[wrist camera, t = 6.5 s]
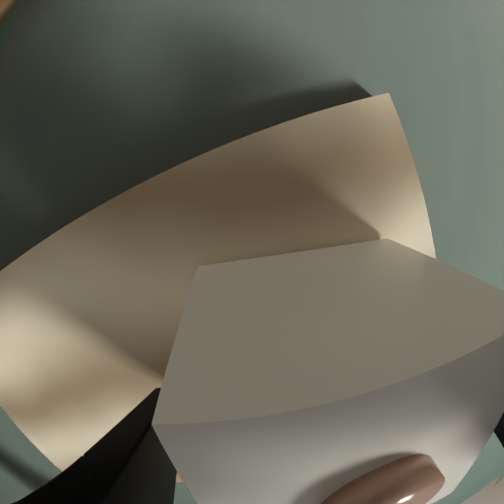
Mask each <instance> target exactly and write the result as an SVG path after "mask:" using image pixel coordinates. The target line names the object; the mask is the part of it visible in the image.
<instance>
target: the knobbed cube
mask: <svg viewBox="0 0 504 504" xmlns="http://www.w3.org/2000/svg"><path fill="white" fill-rule="evenodd" d="M503 412H504V291H503V290H501V289H499V288H497V287H495V286H493V285H491V284H488V283H486V282H484V281H482V280H480V279H478V278H476V277H474V276H472V275H470V274H468V273H466V272H463V271H461V270H459V269H457V268H455V267H452V266H450V265H448V264H446V263H444V262H441V261H439V260H437V259H435V258H432V257H430V256H428V255H425V254H423V253H421V252H419V251H416V250H414V249H411V248H409V247H407V246H404V245H402V244H399V243H397V242H395V241H392V240H390V239H381V240H374V241H367V242H361V243H354V244H347V245H341V246H334V247H327V248H320V249H314V250H307V251H300V252H293V253H286V254H280V255H273V256H266V257H259V258H252V259H245V260H238V261H231V262H224V263H217V264H210V265H203V266H198V268H197V271H196V274H195V277H194V280H193V283H192V286H191V289H190V293H189V296H188V299H187V302H186V305H185V308H184V311H183V315H182V318H181V321H180V324H179V328H178V331H177V334H176V338H175V341H174V344H173V348H172V351H171V355H170V358H169V361H168V365H167V368H166V372H165V376H164V379H163V383H162V386H161V390H160V394H159V397H158V401H157V405H156V409H155V412H154V416H153V420H152V426H153V428H154V430H155V432H156V434H157V436H158V438H159V440H160V442H161V444H162V446H163V447H164V449H165V451H166V453H167V455H168V456H169V458H170V460H171V462H172V463H173V465H174V467H175V469H176V470H177V472H178V474H179V475H180V477H181V478H182V480H183V482H184V483H185V485H186V486H187V488H188V490H189V491H190V493H191V494H192V496H193V497H194V499H195V500H196V502H197V503H198V504H432V503H434V502H436V501H438V500H439V499H441V498H443V497H445V496H447V495H448V494H450V493H452V491H453V490H454V489H455V488H456V486H457V485H458V484H459V482H460V481H461V480H462V478H463V477H464V476H465V474H466V473H467V472H468V470H469V469H470V467H471V466H472V464H473V463H474V462H475V460H476V459H477V457H478V456H479V454H480V452H481V451H482V449H483V448H484V446H485V444H486V443H487V441H488V439H489V438H490V436H491V434H492V433H493V431H494V429H495V427H496V426H497V424H498V422H499V420H500V418H501V416H502V414H503Z"/></svg>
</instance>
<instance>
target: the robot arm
mask: <svg viewBox="0 0 504 504" xmlns="http://www.w3.org/2000/svg"><path fill="white" fill-rule="evenodd" d="M160 390H161V388H155V389H154V390H153V391H152V392H151V393H150V394H149V395H148V396H147V397H146V398H145V399H144V400H142V401H141V402H140V403H139V404H138V405H137V406H136V407H135V408H134V409H133V410H132V411H131V412H130V413H128V414H127V415H126V416H125V417H124V418H123V419H122V420H121V421H120V422H119V423H118V424H116V425H115V426H114V427H113V428H112V429H111V430H110V431H109V432H108V433H107V434H105V435H104V436H103V437H102V438H101V439H100V440H99V441H98V442H97V443H95V444H94V445H93V446H92V447H91V448H90V449H89V450H88V451H86V452H85V453H84V454H83V456H81V457H79V458H78V459H77V460H76V461H75V462H74V463H73V464H71V465H70V466H69V467H68V468H66V469H65V470H64V471H63V472H61V473H60V474H59V475H57V476H56V477H54V478H53V479H52V480H50V481H49V482H47V483H46V484H44V485H43V486H41V487H40V488H38V489H37V490H35V491H34V492H32V493H30V494H29V495H27V496H26V497H24V498H22V499H21V500H19V501H17V502H14V503H12V504H173V502H174V493H175V484H176V475H177V470H176V469H175V467H174V465H173V463H172V462H171V460H170V458H169V456H168V455H167V453H166V451H165V449H164V447H163V446H162V444H161V442H160V440H159V438H158V436H157V434H156V432H155V430H154V428H153V426H152V420H153V416H154V412H155V409H156V405H157V401H158V397H159V394H160ZM494 433H495V434H496V436H497V437H498V439H499V441H500V442H501V444H502V446H503V447H504V412H503V414H502V416H501V418H500V420H499V422H498V424H497V426H496V427H495V429H494Z"/></svg>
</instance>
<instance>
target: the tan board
mask: <svg viewBox="0 0 504 504" xmlns="http://www.w3.org/2000/svg"><path fill="white" fill-rule="evenodd" d="M381 239H390V240H392V241H395V242H397V243H399V244H402V245H404V246H407V247H409V248H411V249H414V250H416V251H419V252H421V253H423V254H425V255H428V256H430V257H432V258H435V259H436V255H435V249H434V243H433V238H432V233H431V228H430V223H429V218H428V213H427V209H426V205H425V201H424V196H423V193H422V189H421V185H420V181H419V178H418V174H417V171H416V167H415V164H414V161H413V157H412V154H411V151H410V148H409V145H408V142H407V139H406V136H405V133H404V131H403V128H402V125H401V122H400V120H399V117H398V114H397V112H396V109H395V107H394V104H393V102H392V100H391V97H390V95H389V93H386V94H381V95H377V96H373V97H369V98H365V99H361V100H357V101H353V102H349V103H345V104H342V105H338V106H335V107H331V108H328V109H324V110H321V111H318V112H314V113H311V114H308V115H305V116H302V117H299V118H296V119H293V120H290V121H287V122H284V123H281V124H278V125H275V126H272V127H269V128H267V129H264V130H261V131H258V132H256V133H253V134H250V135H248V136H245V137H243V138H240V139H237V140H235V141H232V142H230V143H228V144H225V145H223V146H220V147H218V148H215V149H213V150H211V151H208V152H206V153H204V154H201V155H199V156H197V157H195V158H192V159H190V160H188V161H186V162H184V163H181V164H179V165H177V166H175V167H173V168H171V169H169V170H166V171H164V172H162V173H160V174H158V175H156V176H154V177H152V178H150V179H148V180H146V181H144V182H142V183H140V184H138V185H136V186H134V187H133V188H131V189H129V190H127V191H125V192H123V193H121V194H119V195H118V196H116V197H114V198H112V199H110V200H109V201H107V202H105V203H103V204H101V205H100V206H98V207H96V208H94V209H93V210H91V211H89V212H88V213H86V214H84V215H83V216H81V217H79V218H78V219H76V220H74V221H73V222H71V223H69V224H68V225H66V226H65V227H63V228H61V229H60V230H58V231H57V232H55V233H54V234H52V235H51V236H49V237H48V238H46V239H45V240H43V241H42V242H40V243H39V244H37V245H36V246H34V247H33V248H31V249H30V250H28V251H27V252H26V253H24V254H23V255H21V256H20V257H19V258H17V259H16V260H15V261H13V262H12V263H10V264H9V265H8V266H6V267H5V268H4V269H2V270H1V271H0V406H1V407H2V408H3V410H4V411H5V412H6V413H7V415H8V416H9V417H10V418H11V419H12V421H13V422H14V423H15V424H16V425H17V427H18V428H19V429H20V430H21V431H22V432H23V433H24V434H25V435H26V437H27V438H28V439H29V440H30V441H31V442H32V443H33V444H34V445H35V446H36V447H37V448H38V449H39V450H40V451H41V452H42V453H43V454H44V455H45V456H46V457H47V458H48V459H49V460H50V461H51V462H52V463H53V464H54V465H56V466H57V467H58V468H59V469H60V470H61V471H62V472H63V471H64V470H65V469H66V468H68V467H69V466H70V465H71V464H73V463H74V462H75V461H76V460H77V459H78V458H79V457H81V456H83V454H84V453H85V452H86V451H88V450H89V449H90V448H91V447H92V446H93V445H94V444H95V443H97V442H98V441H99V440H100V439H101V438H102V437H103V436H104V435H105V434H107V433H108V432H109V431H110V430H111V429H112V428H113V427H114V426H115V425H116V424H118V423H119V422H120V421H121V420H122V419H123V418H124V417H125V416H126V415H127V414H128V413H130V412H131V411H132V410H133V409H134V408H135V407H136V406H137V405H138V404H139V403H140V402H141V401H142V400H144V399H145V398H146V397H147V396H148V395H149V394H150V393H151V392H152V391H153V390H154V389H155V388H161V386H162V383H163V379H164V376H165V372H166V368H167V365H168V361H169V358H170V355H171V351H172V348H173V344H174V341H175V338H176V334H177V331H178V328H179V324H180V321H181V318H182V315H183V311H184V308H185V305H186V302H187V299H188V296H189V293H190V289H191V286H192V283H193V280H194V277H195V274H196V271H197V268H198V266H203V265H210V264H217V263H224V262H231V261H238V260H245V259H252V258H259V257H266V256H273V255H280V254H286V253H293V252H300V251H307V250H314V249H320V248H327V247H334V246H341V245H347V244H354V243H361V242H367V241H374V240H381ZM178 482H183V480H182V478H181V477H180V475H179V474H178V472H177V475H176V483H178Z"/></svg>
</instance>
